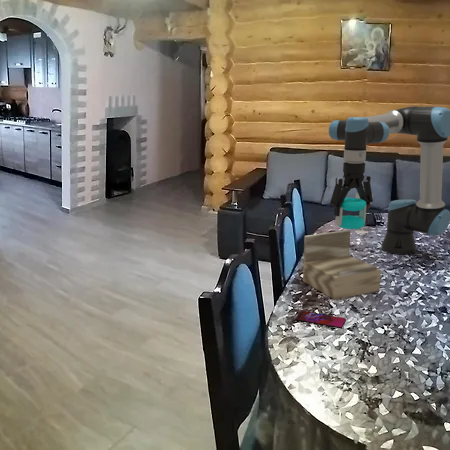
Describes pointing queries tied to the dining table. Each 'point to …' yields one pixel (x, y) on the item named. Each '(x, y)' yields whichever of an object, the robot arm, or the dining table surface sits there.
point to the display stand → (337, 266)
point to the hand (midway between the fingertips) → (350, 223)
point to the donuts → (350, 220)
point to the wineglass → (368, 208)
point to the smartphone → (320, 319)
